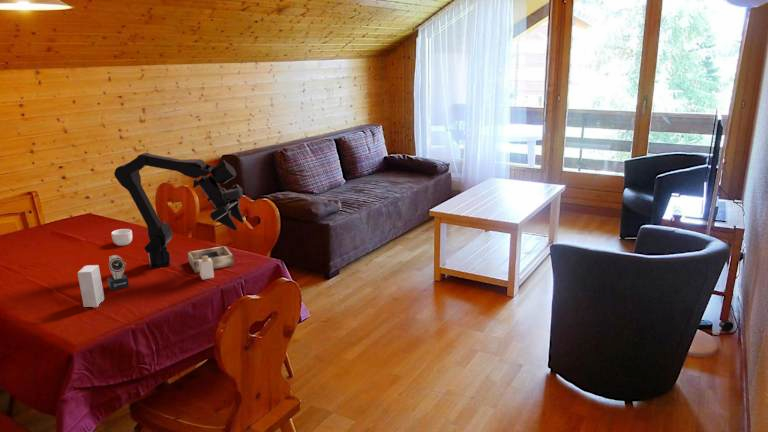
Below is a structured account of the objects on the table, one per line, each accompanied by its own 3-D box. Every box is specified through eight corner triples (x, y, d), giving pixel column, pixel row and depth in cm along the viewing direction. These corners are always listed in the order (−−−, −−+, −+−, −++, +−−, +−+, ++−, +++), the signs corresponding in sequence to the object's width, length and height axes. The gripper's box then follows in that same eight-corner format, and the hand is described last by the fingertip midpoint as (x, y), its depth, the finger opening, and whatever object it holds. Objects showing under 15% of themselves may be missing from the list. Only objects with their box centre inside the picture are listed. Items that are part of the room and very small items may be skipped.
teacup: (136, 243, 234) (134, 231, 232) (118, 248, 229) (116, 235, 227) (126, 238, 240) (124, 226, 239) (107, 243, 235) (105, 230, 234)
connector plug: (202, 279, 196) (200, 259, 194) (200, 275, 199) (197, 255, 197) (214, 277, 198) (212, 257, 196) (211, 273, 201) (209, 254, 199)
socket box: (195, 272, 202) (193, 262, 201) (188, 262, 212) (187, 252, 211) (233, 265, 209) (233, 255, 208) (226, 255, 219) (225, 245, 218)
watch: (112, 292, 186) (107, 261, 183) (107, 285, 192) (102, 254, 189) (130, 288, 189) (126, 257, 186) (124, 281, 196) (120, 251, 192)
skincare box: (91, 300, 181) (85, 265, 177) (104, 299, 181) (99, 264, 178) (83, 308, 175) (76, 272, 172) (97, 307, 175) (91, 271, 172)
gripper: (223, 185, 192) (251, 222, 196) (238, 173, 210) (262, 207, 214) (198, 202, 194) (225, 238, 197) (214, 189, 212) (239, 222, 215)
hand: (239, 225), depth 206 cm, fingers open, 9 cm apart
